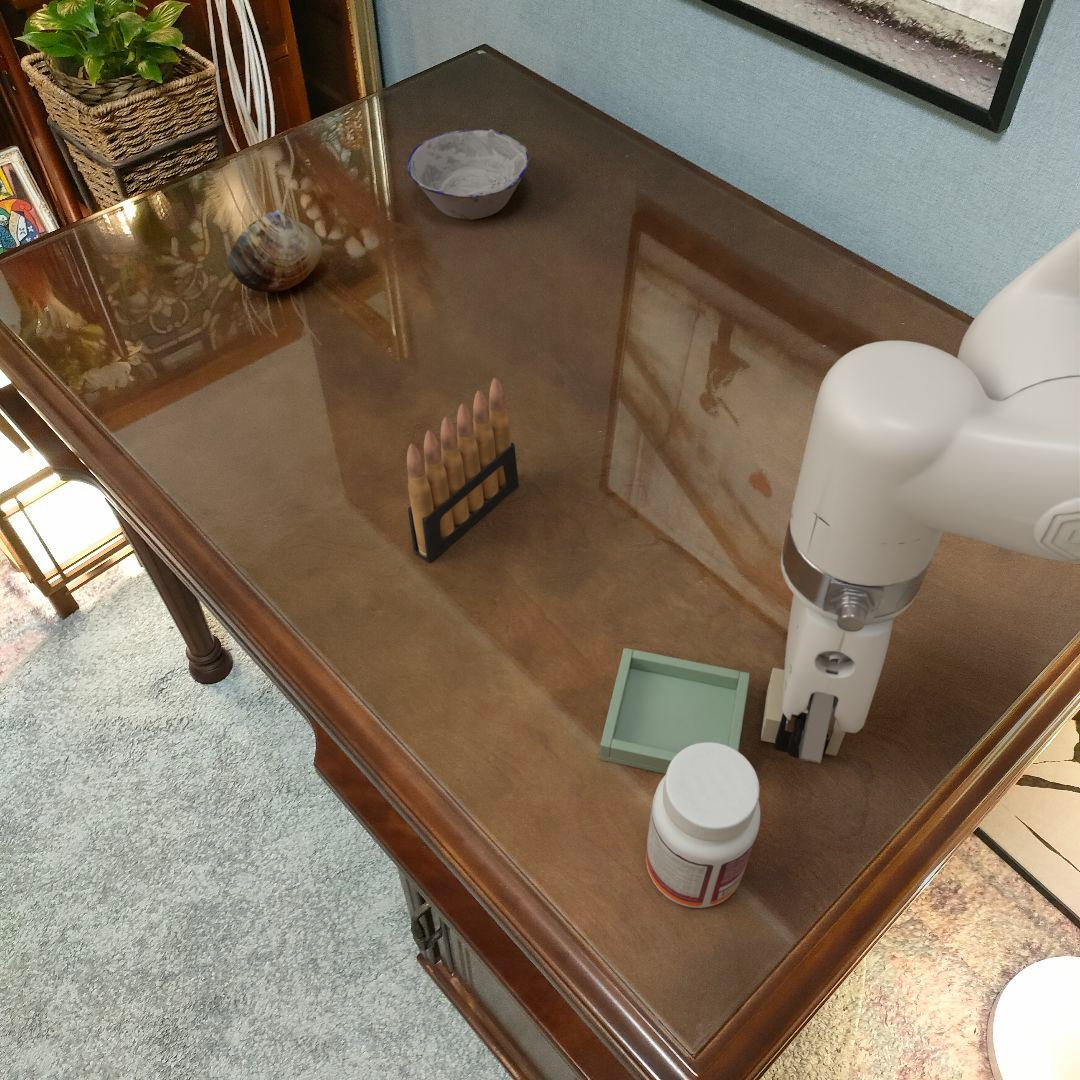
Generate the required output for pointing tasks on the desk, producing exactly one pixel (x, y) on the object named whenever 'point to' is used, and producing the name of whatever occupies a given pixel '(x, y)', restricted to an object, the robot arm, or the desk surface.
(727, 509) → the desk surface
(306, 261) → the seashell
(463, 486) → the ammunition clip
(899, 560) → the robot arm
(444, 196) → the bowl
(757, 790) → the pill bottle
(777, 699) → the beige block
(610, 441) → the desk surface
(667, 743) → the shallow square green tray
